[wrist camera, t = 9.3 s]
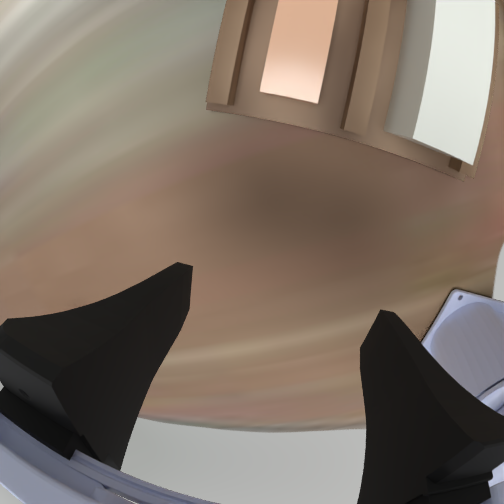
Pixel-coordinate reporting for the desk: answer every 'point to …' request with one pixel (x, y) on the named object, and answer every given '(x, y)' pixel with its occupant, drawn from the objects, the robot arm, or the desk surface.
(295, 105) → the walnut drying rack
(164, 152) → the desk surface
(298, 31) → the terracotta strip
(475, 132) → the strip
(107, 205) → the desk surface
